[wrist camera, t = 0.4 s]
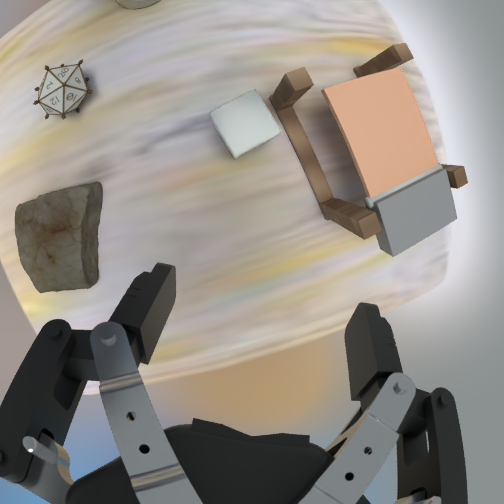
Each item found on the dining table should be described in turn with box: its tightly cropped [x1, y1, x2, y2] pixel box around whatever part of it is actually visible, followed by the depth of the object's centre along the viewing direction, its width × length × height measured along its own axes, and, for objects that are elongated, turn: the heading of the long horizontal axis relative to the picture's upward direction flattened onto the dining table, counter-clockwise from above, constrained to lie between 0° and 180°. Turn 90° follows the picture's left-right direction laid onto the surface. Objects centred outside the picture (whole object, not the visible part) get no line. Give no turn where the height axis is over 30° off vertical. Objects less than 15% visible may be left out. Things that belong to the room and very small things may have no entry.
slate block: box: [209, 89, 281, 160], centre depth 30 cm, size 5×5×10 cm
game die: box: [33, 59, 93, 120], centre depth 27 cm, size 9×8×10 cm
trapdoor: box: [322, 67, 457, 257], centre depth 26 cm, size 18×11×3 cm, turn 26°
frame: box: [269, 43, 468, 240], centre depth 29 cm, size 18×15×13 cm
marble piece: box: [15, 182, 102, 293], centre depth 35 cm, size 17×15×4 cm
